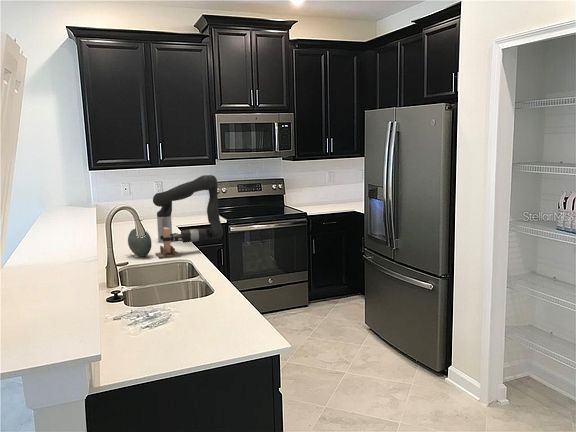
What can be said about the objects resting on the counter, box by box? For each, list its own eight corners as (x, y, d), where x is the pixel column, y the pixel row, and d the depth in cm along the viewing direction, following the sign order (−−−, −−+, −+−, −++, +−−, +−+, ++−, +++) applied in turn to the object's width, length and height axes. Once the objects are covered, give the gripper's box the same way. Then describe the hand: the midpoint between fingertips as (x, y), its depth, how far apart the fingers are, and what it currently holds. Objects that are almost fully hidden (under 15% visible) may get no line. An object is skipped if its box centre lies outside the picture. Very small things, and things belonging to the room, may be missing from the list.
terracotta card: (164, 250, 288) (162, 227, 286) (168, 250, 289) (167, 227, 287) (166, 252, 283) (165, 229, 281) (170, 252, 284) (169, 228, 282)
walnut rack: (155, 254, 289) (154, 246, 288) (175, 252, 294) (174, 244, 294) (159, 258, 279) (159, 250, 278) (180, 256, 284) (180, 248, 283)
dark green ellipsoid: (146, 252, 295) (144, 216, 291) (154, 258, 281) (152, 220, 277) (126, 255, 289) (124, 218, 285) (134, 260, 275) (131, 222, 271)
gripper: (186, 227, 297) (158, 230, 289) (192, 231, 284) (164, 234, 277) (187, 239, 298) (159, 242, 290) (193, 244, 285) (164, 247, 278)
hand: (161, 238), depth 284 cm, fingers closed on terracotta card, 5 cm apart
